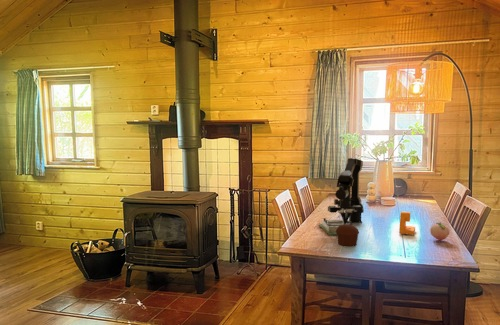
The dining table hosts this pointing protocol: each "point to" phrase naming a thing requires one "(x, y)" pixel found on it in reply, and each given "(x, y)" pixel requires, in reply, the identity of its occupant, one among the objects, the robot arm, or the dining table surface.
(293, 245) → the dining table surface
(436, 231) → the decorative fruit
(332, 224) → the strap
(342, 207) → the robot arm
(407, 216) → the bracket
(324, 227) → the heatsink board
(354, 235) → the muffin
